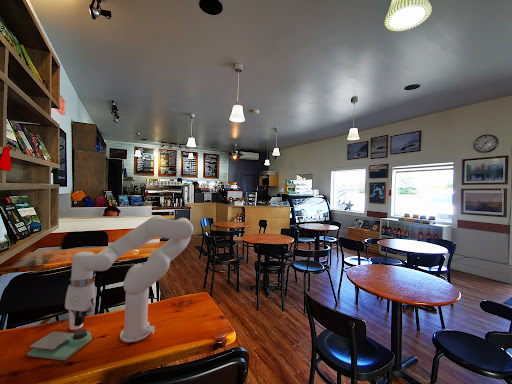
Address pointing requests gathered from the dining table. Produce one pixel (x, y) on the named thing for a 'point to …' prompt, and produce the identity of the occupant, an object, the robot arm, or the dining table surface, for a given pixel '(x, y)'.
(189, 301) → the dining table surface
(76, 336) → the tare button
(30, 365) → the dining table surface
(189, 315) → the dining table surface
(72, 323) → the drinking glass
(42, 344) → the scale plate
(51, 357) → the scale
